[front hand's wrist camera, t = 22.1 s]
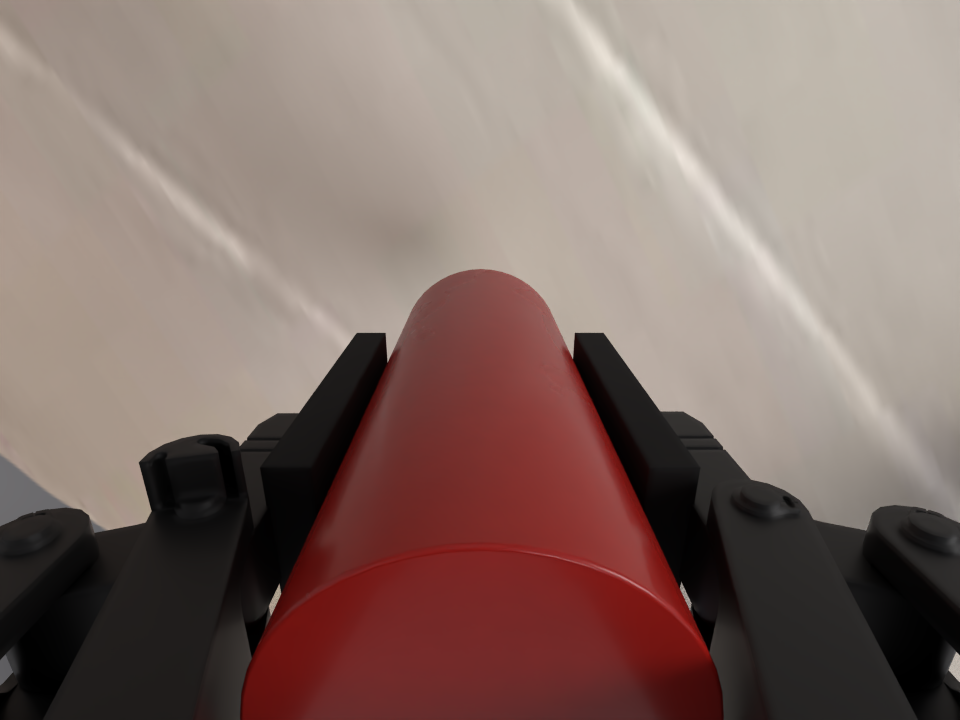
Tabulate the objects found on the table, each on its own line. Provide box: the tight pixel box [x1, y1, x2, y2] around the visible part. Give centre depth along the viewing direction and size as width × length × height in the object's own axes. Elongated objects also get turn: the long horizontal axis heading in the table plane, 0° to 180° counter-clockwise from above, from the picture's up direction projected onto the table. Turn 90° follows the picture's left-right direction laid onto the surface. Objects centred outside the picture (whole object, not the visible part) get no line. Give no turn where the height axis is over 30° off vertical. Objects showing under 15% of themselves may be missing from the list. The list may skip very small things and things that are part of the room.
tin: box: [240, 269, 724, 720], centre depth 11 cm, size 5×5×12 cm
